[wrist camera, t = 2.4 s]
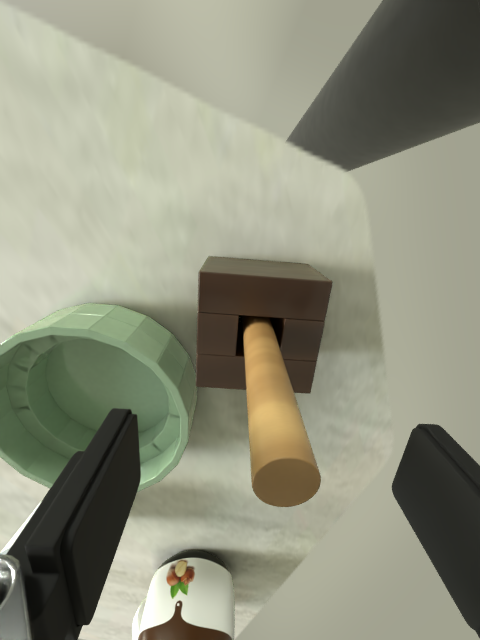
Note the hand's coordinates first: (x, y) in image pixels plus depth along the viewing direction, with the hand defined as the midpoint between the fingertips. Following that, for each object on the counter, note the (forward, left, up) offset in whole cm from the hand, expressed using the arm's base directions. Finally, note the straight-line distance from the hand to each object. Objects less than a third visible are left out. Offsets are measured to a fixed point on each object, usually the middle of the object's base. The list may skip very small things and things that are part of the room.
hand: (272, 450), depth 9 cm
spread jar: (+37, -5, -15) cm, 40 cm away
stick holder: (0, 0, -15) cm, 15 cm away
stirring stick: (0, 0, -15) cm, 15 cm away
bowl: (+8, -12, -15) cm, 20 cm away
